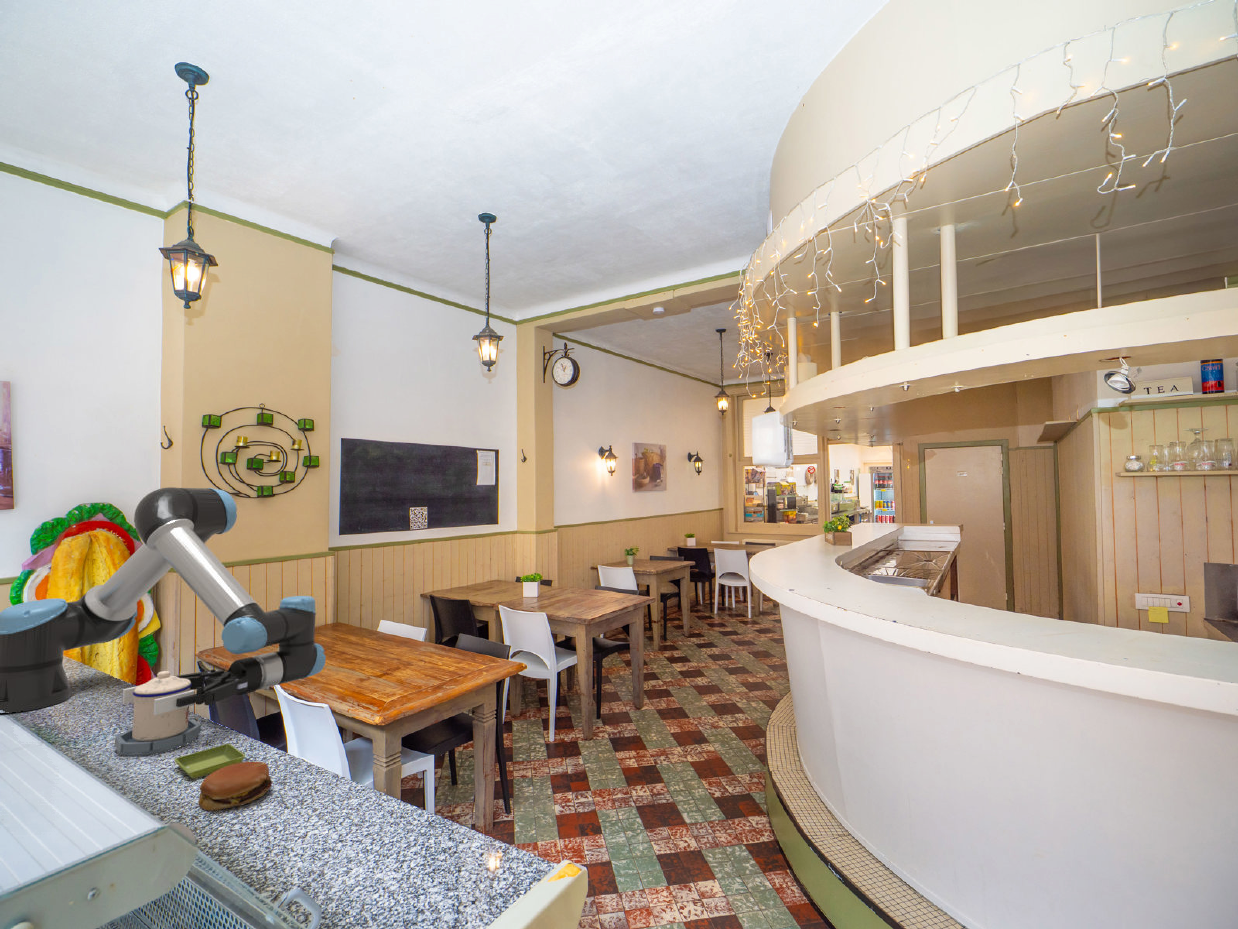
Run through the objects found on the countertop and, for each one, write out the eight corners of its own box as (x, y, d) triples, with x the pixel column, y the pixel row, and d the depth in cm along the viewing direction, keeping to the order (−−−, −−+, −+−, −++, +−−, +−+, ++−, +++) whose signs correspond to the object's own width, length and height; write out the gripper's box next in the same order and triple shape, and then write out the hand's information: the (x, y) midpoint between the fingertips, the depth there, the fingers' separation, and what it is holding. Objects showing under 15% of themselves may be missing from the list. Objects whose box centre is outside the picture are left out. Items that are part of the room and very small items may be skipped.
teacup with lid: (199, 729, 117) (202, 669, 118) (146, 745, 109) (149, 681, 109) (165, 719, 122) (168, 662, 123) (112, 734, 114) (116, 673, 115)
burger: (184, 806, 91) (186, 775, 92) (241, 780, 100) (242, 752, 100) (228, 819, 88) (230, 787, 88) (283, 791, 97) (285, 761, 97)
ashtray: (109, 744, 115) (110, 732, 115) (186, 726, 124) (187, 714, 125) (125, 762, 107) (126, 749, 107) (206, 741, 116) (207, 729, 117)
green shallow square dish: (246, 767, 106) (246, 755, 106) (188, 785, 99) (188, 773, 99) (228, 754, 111) (229, 743, 111) (172, 770, 104) (173, 758, 105)
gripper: (285, 699, 126) (169, 734, 107) (224, 683, 137) (109, 711, 119) (287, 663, 126) (171, 691, 107) (225, 650, 138) (111, 673, 119)
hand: (138, 702), depth 113 cm, fingers closed on teacup with lid, 12 cm apart
